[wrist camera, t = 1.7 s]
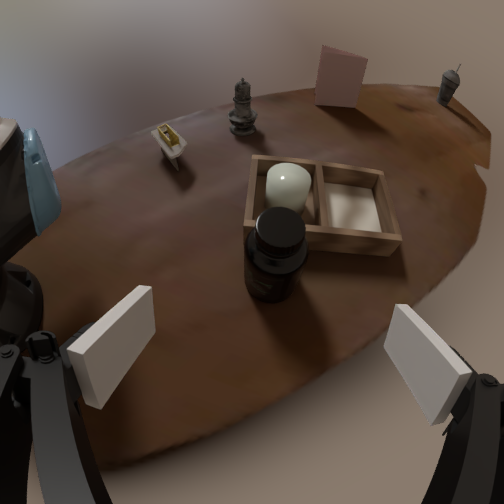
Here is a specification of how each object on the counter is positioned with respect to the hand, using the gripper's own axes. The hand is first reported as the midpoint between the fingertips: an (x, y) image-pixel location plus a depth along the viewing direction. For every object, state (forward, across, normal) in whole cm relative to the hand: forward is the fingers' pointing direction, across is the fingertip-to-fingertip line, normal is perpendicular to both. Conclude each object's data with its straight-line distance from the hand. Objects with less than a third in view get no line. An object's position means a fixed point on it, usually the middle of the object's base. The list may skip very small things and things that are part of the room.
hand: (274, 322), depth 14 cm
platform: (+38, -18, +11) cm, 43 cm away
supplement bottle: (+22, 0, -5) cm, 22 cm away
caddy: (+30, +7, +3) cm, 31 cm away
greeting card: (+56, +14, +30) cm, 65 cm away
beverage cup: (+75, +63, +48) cm, 109 cm away
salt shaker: (+45, -7, +18) cm, 49 cm away
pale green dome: (+29, +2, +4) cm, 30 cm away
